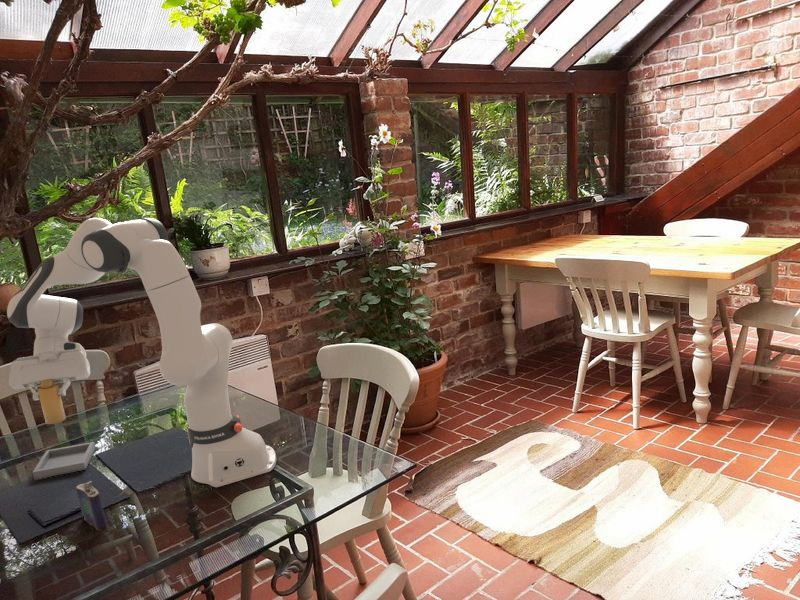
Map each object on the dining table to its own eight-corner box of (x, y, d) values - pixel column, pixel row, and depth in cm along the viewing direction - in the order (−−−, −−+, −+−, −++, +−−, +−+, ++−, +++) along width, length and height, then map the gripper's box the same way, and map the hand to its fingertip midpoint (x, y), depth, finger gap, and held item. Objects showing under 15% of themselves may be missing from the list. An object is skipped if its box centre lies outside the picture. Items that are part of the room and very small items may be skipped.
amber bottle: (67, 414, 173) (58, 376, 170) (63, 422, 168) (53, 382, 165) (48, 418, 172) (38, 379, 169) (43, 425, 167) (33, 386, 164)
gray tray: (95, 449, 181) (94, 441, 181) (85, 470, 169) (83, 462, 168) (48, 457, 178) (46, 450, 178) (34, 480, 166) (32, 472, 165)
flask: (81, 519, 146) (72, 479, 143) (93, 513, 148) (84, 474, 145) (99, 532, 140) (89, 491, 138) (111, 525, 142) (102, 485, 140)
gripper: (6, 354, 169) (2, 399, 163) (85, 342, 174) (84, 386, 167) (16, 363, 175) (12, 408, 168) (92, 352, 179) (91, 395, 173)
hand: (49, 397), depth 168 cm, fingers closed on amber bottle, 5 cm apart
